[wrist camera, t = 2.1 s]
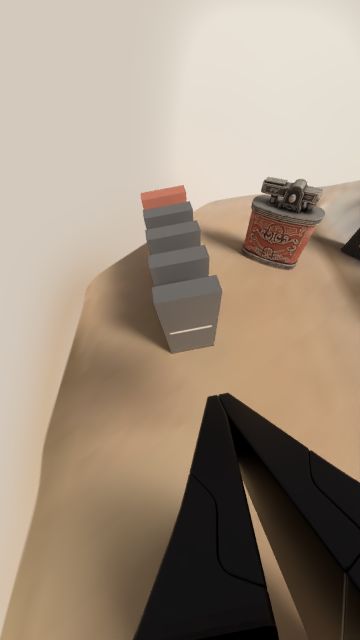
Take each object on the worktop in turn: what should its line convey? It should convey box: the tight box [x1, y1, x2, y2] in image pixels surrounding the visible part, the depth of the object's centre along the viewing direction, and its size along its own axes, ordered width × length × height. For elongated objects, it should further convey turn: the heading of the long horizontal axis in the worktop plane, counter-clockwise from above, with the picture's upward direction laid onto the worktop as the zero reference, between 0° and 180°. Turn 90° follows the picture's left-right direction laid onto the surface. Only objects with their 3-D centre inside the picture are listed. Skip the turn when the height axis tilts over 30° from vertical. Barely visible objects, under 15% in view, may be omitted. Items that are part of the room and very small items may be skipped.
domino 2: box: [143, 202, 193, 230], centre depth 24 cm, size 2×5×10 cm, turn 99°
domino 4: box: [148, 245, 209, 287], centre depth 20 cm, size 2×5×10 cm, turn 100°
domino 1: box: [141, 185, 186, 210], centre depth 26 cm, size 2×5×10 cm, turn 100°
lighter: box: [242, 177, 325, 270], centre depth 24 cm, size 8×3×10 cm, turn 55°
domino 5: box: [152, 275, 222, 354], centre depth 18 cm, size 2×5×10 cm, turn 99°
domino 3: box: [146, 220, 200, 255], centre depth 22 cm, size 2×5×10 cm, turn 99°
